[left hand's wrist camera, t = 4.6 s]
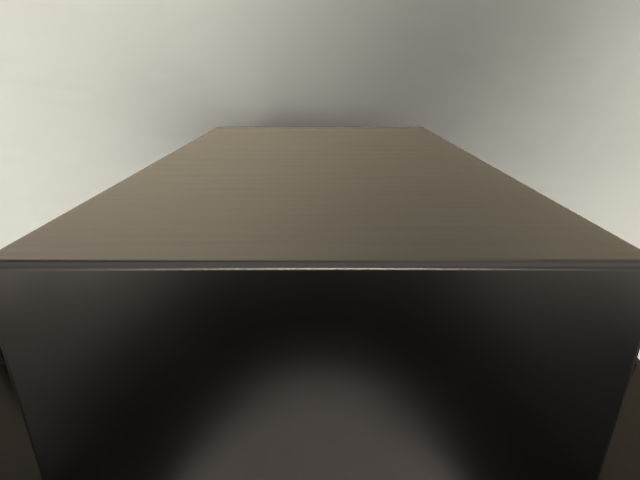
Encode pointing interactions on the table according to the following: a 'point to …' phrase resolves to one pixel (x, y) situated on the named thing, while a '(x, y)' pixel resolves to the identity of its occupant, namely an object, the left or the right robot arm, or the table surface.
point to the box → (320, 318)
